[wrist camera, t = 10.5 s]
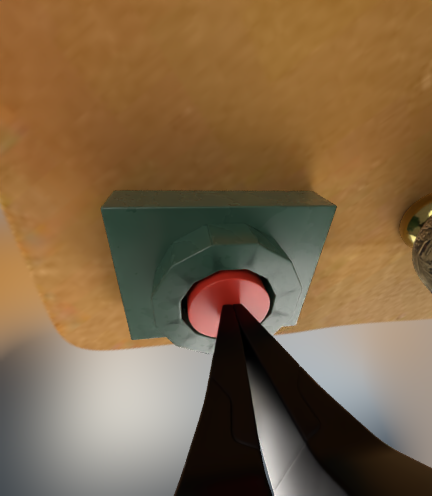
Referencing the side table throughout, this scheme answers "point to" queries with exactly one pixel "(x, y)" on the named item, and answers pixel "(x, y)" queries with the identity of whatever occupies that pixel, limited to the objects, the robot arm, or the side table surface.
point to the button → (225, 298)
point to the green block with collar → (211, 252)
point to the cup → (419, 237)
